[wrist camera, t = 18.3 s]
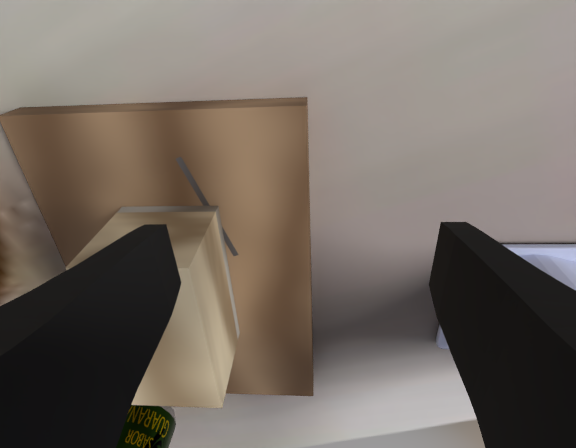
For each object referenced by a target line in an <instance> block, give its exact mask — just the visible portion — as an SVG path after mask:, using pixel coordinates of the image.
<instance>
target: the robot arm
mask: <svg viewBox="0 0 576 448" xmlns="http://www.w3.org/2000/svg"><path fill="white" fill-rule="evenodd" d="M180 286H181V279H180V275H179V272H178V268H177V264H176V260H175V256H174V252H173V248H172V244H171V240H170V237H169V233H168V229H167V225H166V224H145V225H143V226H140V227H138V228H136V229H135V230H133V231H131V232H129V233H128V234H126V235H124V236H123V237H121V238H119V239H118V240H116V241H114V242H113V243H111V244H110V245H108V246H106V247H105V248H103V249H101V250H100V251H98V252H97V253H95V254H93V255H92V256H90V257H88V258H87V259H85V260H84V261H82V262H80V263H79V264H77V265H75V266H74V267H72V268H70V269H68V270H67V271H65V272H63V273H61V274H60V275H58V276H56V277H54V278H53V279H51V280H49V281H47V282H46V283H44V284H42V285H41V286H39V287H37V288H35V289H33V290H31V291H30V292H28V293H26V294H24V295H22V296H20V297H18V298H16V299H14V300H12V301H10V302H8V303H6V304H4V305H2V306H0V448H116V446H117V444H118V441H119V438H120V435H121V432H122V429H123V426H124V423H125V421H126V418H127V415H128V412H129V409H130V406H131V404H132V402H133V399H134V397H135V394H136V392H137V390H138V387H139V385H140V383H141V381H142V379H143V377H144V375H145V372H146V370H147V368H148V366H149V364H150V362H151V360H152V357H153V355H154V353H155V351H156V349H157V347H158V345H159V342H160V340H161V338H162V336H163V334H164V332H165V329H166V327H167V325H168V323H169V320H170V318H171V316H172V313H173V310H174V307H175V304H176V301H177V297H178V293H179V290H180ZM429 287H430V291H431V295H432V299H433V304H434V307H435V311H436V315H437V319H438V321H439V328H438V333H437V337H436V343H437V346H438V347H439V348H441V349H450V351H451V354H452V356H453V359H454V361H455V364H456V366H457V369H458V371H459V374H460V376H461V378H462V381H463V383H464V386H465V388H466V391H467V393H468V396H469V398H470V401H471V403H472V406H473V409H474V412H475V415H476V417H477V420H478V424H479V427H480V431H481V434H482V437H483V441H484V444H485V448H576V244H500V243H499V242H497V241H496V240H494V239H493V238H491V237H490V236H488V235H487V234H485V233H484V232H482V231H480V230H479V229H477V228H476V227H474V226H472V225H470V224H469V223H467V222H441V224H440V229H439V235H438V240H437V245H436V250H435V256H434V261H433V266H432V271H431V276H430V282H429Z"/></svg>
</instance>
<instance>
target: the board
mask: <svg viewBox="0 0 576 448" xmlns="http://www.w3.org/2000/svg"><path fill="white" fill-rule="evenodd" d="M0 122H1V124H2V127H3V129H4V131H5V133H6V135H7V138H8V140H9V142H10V144H11V147H12V149H13V151H14V153H15V155H16V158H17V160H18V162H19V164H20V166H21V169H22V171H23V173H24V175H25V177H26V180H27V182H28V184H29V186H30V188H31V191H32V193H33V195H34V197H35V200H36V202H37V204H38V206H39V208H40V211H41V213H42V215H43V217H44V219H45V222H46V224H47V226H48V228H49V230H50V233H51V235H52V237H53V239H54V241H55V244H56V246H57V248H58V250H59V253H60V255H61V257H62V259H63V261H64V264H65V266H66V267H67V266H68V265H69V263H70V262H71V261H72V260H73V259H74V258H75V257H76V256H77V255H78V254H79V253H80V252H81V251H82V249H83V248H84V247H85V246H86V245H87V244H88V243H89V242H90V241H91V240H92V239H93V238H94V237H95V235H96V234H97V233H98V232H99V231H100V230H101V229H102V228H103V227H104V226H105V225H106V224H107V223H108V221H109V220H110V219H111V218H112V217H113V216H114V215H115V214H116V213H117V212H118V211H119V210H120V209H121V207H143V206H219V212H220V218H221V224H222V230H223V236H224V242H225V248H226V254H227V260H228V266H229V272H230V278H231V284H232V290H233V296H234V302H235V308H236V313H237V319H238V325H239V331H240V333H239V338H238V342H237V346H236V351H235V355H234V359H233V364H232V368H231V372H230V376H229V381H228V385H227V389H226V393H230V394H262V395H295V396H313V334H312V289H311V244H310V199H309V154H308V109H307V97H304V98H276V99H248V100H220V101H192V102H164V103H136V104H108V105H80V106H52V107H24V108H18V109H15V110H13V111H10V112H7V113H5V114H2V115H0Z"/></svg>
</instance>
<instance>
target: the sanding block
mask: <svg viewBox="0 0 576 448" xmlns="http://www.w3.org/2000/svg"><path fill="white" fill-rule="evenodd" d="M145 224H166V225H167V229H168V233H169V237H170V240H171V244H172V248H173V252H174V256H175V260H176V264H177V268H178V272H179V275H180V279H181V286H180V290H179V293H178V297H177V301H176V304H175V307H174V310H173V313H172V316H171V318H170V320H169V323H168V325H167V327H166V329H165V332H164V334H163V336H162V338H161V340H160V342H159V345H158V347H157V349H156V351H155V353H154V355H153V357H152V360H151V362H150V364H149V366H148V368H147V370H146V372H145V375H144V377H143V379H142V381H141V383H140V385H139V387H138V390H137V392H136V394H135V397H134V399H133V402H132V404H131V405H148V406H177V407H206V408H222V407H223V402H224V398H225V394H226V389H227V385H228V381H229V376H230V372H231V368H232V364H233V359H234V355H235V351H236V346H237V342H238V338H239V333H240V331H239V325H238V319H237V313H236V308H235V302H234V296H233V290H232V284H231V278H230V272H229V266H228V260H227V254H226V248H225V242H224V236H223V230H222V224H221V218H220V212H219V206H143V207H121V209H120V210H119V211H118V212H117V213H116V214H115V215H114V216H113V217H112V218H111V219H110V220H109V221H108V223H107V224H106V225H105V226H104V227H103V228H102V229H101V230H100V231H99V232H98V233H97V234H96V235H95V237H94V238H93V239H92V240H91V241H90V242H89V243H88V244H87V245H86V246H85V247H84V248H83V249H82V251H81V252H80V253H79V254H78V255H77V256H76V257H75V258H74V259H73V260H72V261H71V262H70V263H69V265H68V266H67V267H66V270H68V269H70V268H72V267H74V266H75V265H77V264H79V263H80V262H82V261H84V260H85V259H87V258H88V257H90V256H92V255H93V254H95V253H97V252H98V251H100V250H101V249H103V248H105V247H106V246H108V245H110V244H111V243H113V242H114V241H116V240H118V239H119V238H121V237H123V236H124V235H126V234H128V233H129V232H131V231H133V230H135V229H136V228H138V227H140V226H143V225H145Z"/></svg>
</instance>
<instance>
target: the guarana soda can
mask: <svg viewBox="0 0 576 448" xmlns="http://www.w3.org/2000/svg"><path fill="white" fill-rule="evenodd" d="M175 425H176V421H175V414H174V410H173V409H172V407H171V406H148V405H131V406H130V409H129V412H128V415H127V418H126V421H125V423H124V426H123V429H122V432H121V435H120V438H119V441H118V444H117V446H116V448H168V447H169V444H170V441H171V438H172V435H173V432H174V429H175Z"/></svg>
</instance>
